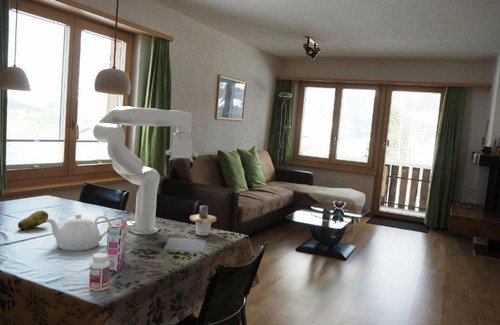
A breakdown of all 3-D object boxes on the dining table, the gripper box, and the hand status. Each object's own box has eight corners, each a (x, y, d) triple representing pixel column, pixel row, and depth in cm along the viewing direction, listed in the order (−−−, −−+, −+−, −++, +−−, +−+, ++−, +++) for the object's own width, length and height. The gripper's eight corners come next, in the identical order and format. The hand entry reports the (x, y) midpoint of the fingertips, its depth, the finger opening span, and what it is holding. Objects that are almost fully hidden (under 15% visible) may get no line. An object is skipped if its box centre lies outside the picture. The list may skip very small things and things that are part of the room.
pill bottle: (106, 282, 141) (108, 251, 140) (111, 289, 136) (112, 257, 135) (87, 285, 138) (88, 253, 136) (91, 292, 132) (92, 259, 131)
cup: (206, 239, 200) (207, 223, 199) (190, 237, 201) (191, 220, 201) (212, 233, 210) (213, 218, 210) (197, 231, 212) (198, 216, 211)
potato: (16, 227, 194) (16, 210, 193) (47, 225, 201) (47, 208, 201) (18, 231, 187) (18, 214, 187) (49, 229, 195) (50, 212, 194)
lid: (188, 222, 198) (189, 208, 197) (190, 215, 211) (191, 202, 210) (216, 223, 199) (217, 210, 199) (216, 217, 212) (217, 204, 211)
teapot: (80, 255, 164) (81, 221, 163) (44, 247, 171) (45, 214, 169) (111, 243, 182) (112, 213, 180) (77, 236, 188) (78, 206, 187)
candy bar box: (119, 271, 151) (121, 227, 150) (104, 271, 151) (107, 226, 149) (125, 261, 162) (127, 220, 161) (112, 260, 162) (114, 219, 160)
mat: (163, 250, 179) (163, 249, 179) (169, 238, 196) (169, 237, 196) (203, 252, 180) (203, 251, 180) (205, 241, 197) (205, 240, 196)
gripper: (165, 134, 212) (163, 168, 214) (199, 137, 213) (197, 170, 215) (167, 134, 219) (165, 166, 221) (200, 136, 220) (198, 168, 222)
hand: (181, 168), depth 218 cm, fingers open, 9 cm apart
